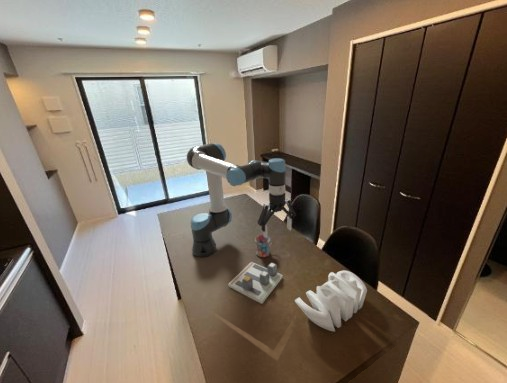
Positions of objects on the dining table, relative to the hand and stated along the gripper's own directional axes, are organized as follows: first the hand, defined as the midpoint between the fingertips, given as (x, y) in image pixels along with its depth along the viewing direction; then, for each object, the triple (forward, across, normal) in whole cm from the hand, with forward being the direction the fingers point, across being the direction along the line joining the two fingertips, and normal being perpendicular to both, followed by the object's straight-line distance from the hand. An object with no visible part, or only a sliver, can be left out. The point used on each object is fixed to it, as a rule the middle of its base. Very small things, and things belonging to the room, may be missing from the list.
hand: (277, 232), depth 112 cm
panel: (+26, -12, +1) cm, 29 cm away
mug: (+26, +3, +20) cm, 33 cm away
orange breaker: (+24, -18, -2) cm, 30 cm away
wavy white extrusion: (+26, +11, -29) cm, 41 cm away
